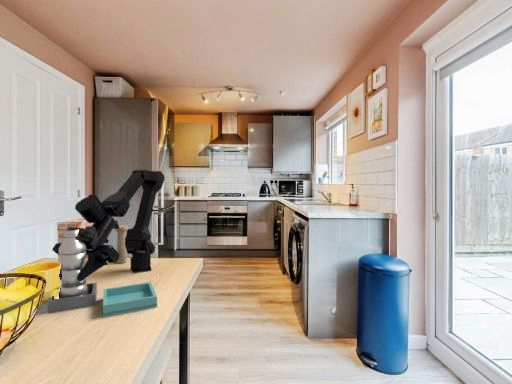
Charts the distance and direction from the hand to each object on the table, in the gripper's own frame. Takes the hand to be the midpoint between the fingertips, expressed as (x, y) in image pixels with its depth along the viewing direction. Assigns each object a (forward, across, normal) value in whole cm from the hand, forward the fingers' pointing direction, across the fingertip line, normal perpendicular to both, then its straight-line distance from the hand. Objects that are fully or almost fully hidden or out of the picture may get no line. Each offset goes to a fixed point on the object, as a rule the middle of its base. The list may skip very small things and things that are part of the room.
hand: (69, 279), depth 79 cm
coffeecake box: (-13, -21, +22) cm, 33 cm away
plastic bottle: (+4, 0, +6) cm, 7 cm away
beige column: (-23, -14, +32) cm, 42 cm away
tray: (+2, +15, +8) cm, 17 cm away
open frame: (+4, 0, +6) cm, 7 cm away
